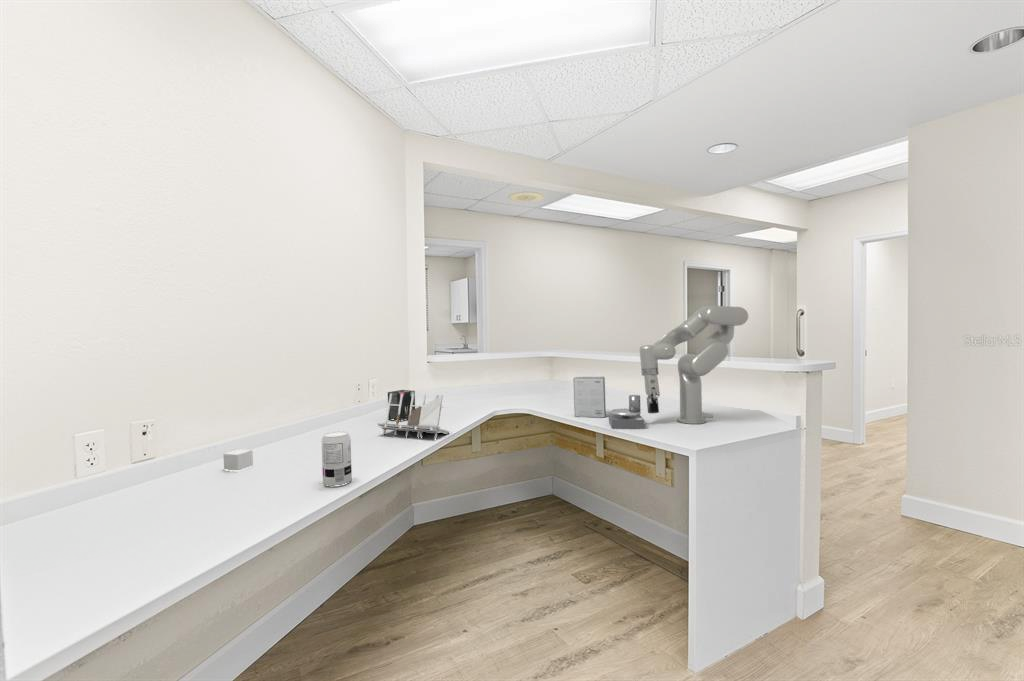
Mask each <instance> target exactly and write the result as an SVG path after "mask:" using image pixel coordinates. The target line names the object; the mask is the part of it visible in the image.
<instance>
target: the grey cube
mask: <svg viewBox="0 0 1024 681" xmlns="http://www.w3.org/2000/svg"><path fill="white" fill-rule="evenodd" d="M253 454H254V452H253V449H241V448H240V449H239V448H238V449H235V450H233V451H228V452H226V453H223V470H224V469H228V470H241V469H243V468H246V467H249V466H252V465H253V466H254V455H253Z"/></svg>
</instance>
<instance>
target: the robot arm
mask: <svg viewBox="0 0 1024 681" xmlns="http://www.w3.org/2000/svg"><path fill="white" fill-rule="evenodd" d="M748 320H749V313H748V311H747V309H745V308H743V307H741V306H730V305H729V306H725V305H707V306H706V305H705V306H703V307H700V308H698V309H697V310H696V311H695V312H694V313H692V314H691V315H690V316H689V317H688V318H686V319H685V320H684V321H683V322H682V323H681V324H679V325H678V326H677V327H676V326H675V328H674V329H672V330H670V331H668V332H667V333H665V334H664V335H662V336H661V337H660V338H659V339H658V340H657V341H656V342H654V344H646V345H642V346H641V345H640V347H639V358H640V367H641V368H640V370H641V371H640V372H641V376H643V378H644V387H645V388H644V389H645V395H647V397H650V401H651V403H650V408H651V412H658V406H659V402H658V403H657V397H660V395H661V394H660V393H661V392H660V386H659V378H658V376H659V374H660V373H659V363H658V361H659V360H663V361H664V360H666V361H668V360H671V359H673V358H674V357H675V355H676V353H677V352H676V351H677V350H676V348H675V347H676V346H678V345H679V344H682V343H685V342H688V341H690V340H694V339H695V337H697V335H699V334H700V333H702V331H704V330H705V329H706V328H707V327H708V326H710V325H717V326H716V328H715V330H714V331H713V332H711V334H710V335H708V336H707V337H706V338H705V339H704V340H702V341H701V342H700V343H699V344H698V345H697V347H696V354H695V353H694V354H693V353H686V354H683V355H682V356H680V357H679V359H678V361H677V371H678V376H679V416H677V418H676V422H678V423H681V424H689V425H691V424H692V425H697V424H699V425H701V424H705V423H706V419H707V418H708V419H712V418H714V414H713V413H705V412H703V407H702V406H703V403H702V400H703V399H702V398H703V396H702V392H703V391H702V386H703V385H702V379H701V377H704V376H706V375H707V374H710V373H711V371H712V370H714V369H715V368H716V367H717V366H718V365H720V364H721V363H722V362H724V360H725V359H726V358H727V356H728V354H729V347H728V345H729V344H730V343H731V341H733V338H734V336H735V326H736V327H737V326H739V327H740V326H743V325H744V324H746V323H747V322H748Z"/></svg>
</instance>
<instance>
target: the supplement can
mask: <svg viewBox="0 0 1024 681" xmlns="http://www.w3.org/2000/svg"><path fill="white" fill-rule="evenodd" d="M351 445H352V444H351V436H350V434H349V432H347V431H344V430H343V431H339V430H338V431H332V432H327V433H325V434H323V437H322V439H321V460H322V462H321V464H322V465H321V466H322V467H321V468H322V484H323V485H324V486H325V485H328V486H335V485H342V484H345V483H348V482H349V483H351V481H352V480H353V474H352V469H353V468H352V446H351ZM349 483H348V484H349Z"/></svg>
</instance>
